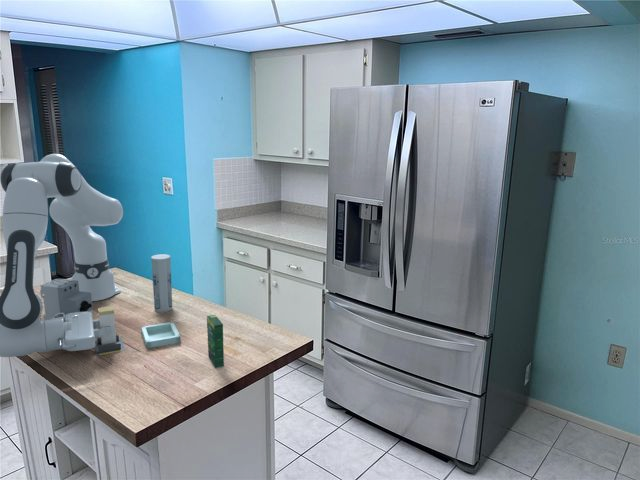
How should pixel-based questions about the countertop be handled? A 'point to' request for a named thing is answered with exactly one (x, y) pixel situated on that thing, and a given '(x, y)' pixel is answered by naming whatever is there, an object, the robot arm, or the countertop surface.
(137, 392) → the countertop surface
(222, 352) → the coffee box
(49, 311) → the circuit breaker
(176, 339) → the tray
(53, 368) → the countertop surface
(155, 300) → the spray can
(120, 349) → the rails
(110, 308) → the fuse
